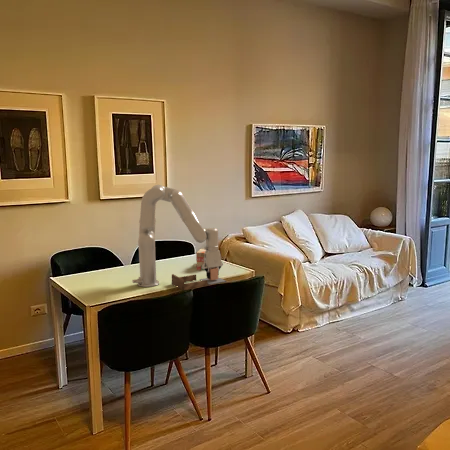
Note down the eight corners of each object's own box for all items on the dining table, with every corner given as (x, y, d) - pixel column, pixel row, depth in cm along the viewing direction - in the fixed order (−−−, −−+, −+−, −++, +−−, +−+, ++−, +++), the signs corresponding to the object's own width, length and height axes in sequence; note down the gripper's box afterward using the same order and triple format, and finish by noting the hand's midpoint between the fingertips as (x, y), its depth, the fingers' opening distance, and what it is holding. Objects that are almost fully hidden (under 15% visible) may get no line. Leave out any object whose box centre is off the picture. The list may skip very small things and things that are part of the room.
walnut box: (182, 290, 264) (182, 280, 263) (171, 284, 277) (171, 274, 276) (207, 285, 273) (207, 276, 272) (195, 279, 285) (195, 270, 284)
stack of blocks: (203, 262, 329) (203, 245, 327) (212, 262, 328) (212, 245, 326) (196, 270, 308) (196, 252, 306) (205, 270, 307) (205, 252, 305)
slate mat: (209, 284, 275) (209, 284, 275) (199, 280, 285) (199, 279, 285) (226, 281, 281) (226, 280, 281) (216, 277, 291) (216, 276, 291)
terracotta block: (211, 280, 279) (210, 269, 278) (207, 278, 284) (206, 267, 282) (218, 279, 282) (218, 268, 281) (214, 277, 286) (214, 266, 285)
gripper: (202, 251, 272) (203, 281, 275) (227, 247, 281) (227, 276, 284) (196, 249, 278) (197, 278, 281) (221, 245, 287) (221, 274, 290)
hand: (212, 277), depth 283 cm, fingers closed on terracotta block, 5 cm apart
